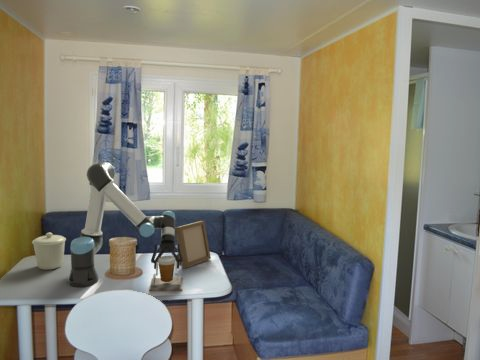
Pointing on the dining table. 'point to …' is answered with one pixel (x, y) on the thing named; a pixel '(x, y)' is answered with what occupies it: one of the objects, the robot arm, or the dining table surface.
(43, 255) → the canister
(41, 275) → the dining table surface
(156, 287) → the rail cradle
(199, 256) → the photo frame
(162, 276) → the disposable coffee cup
